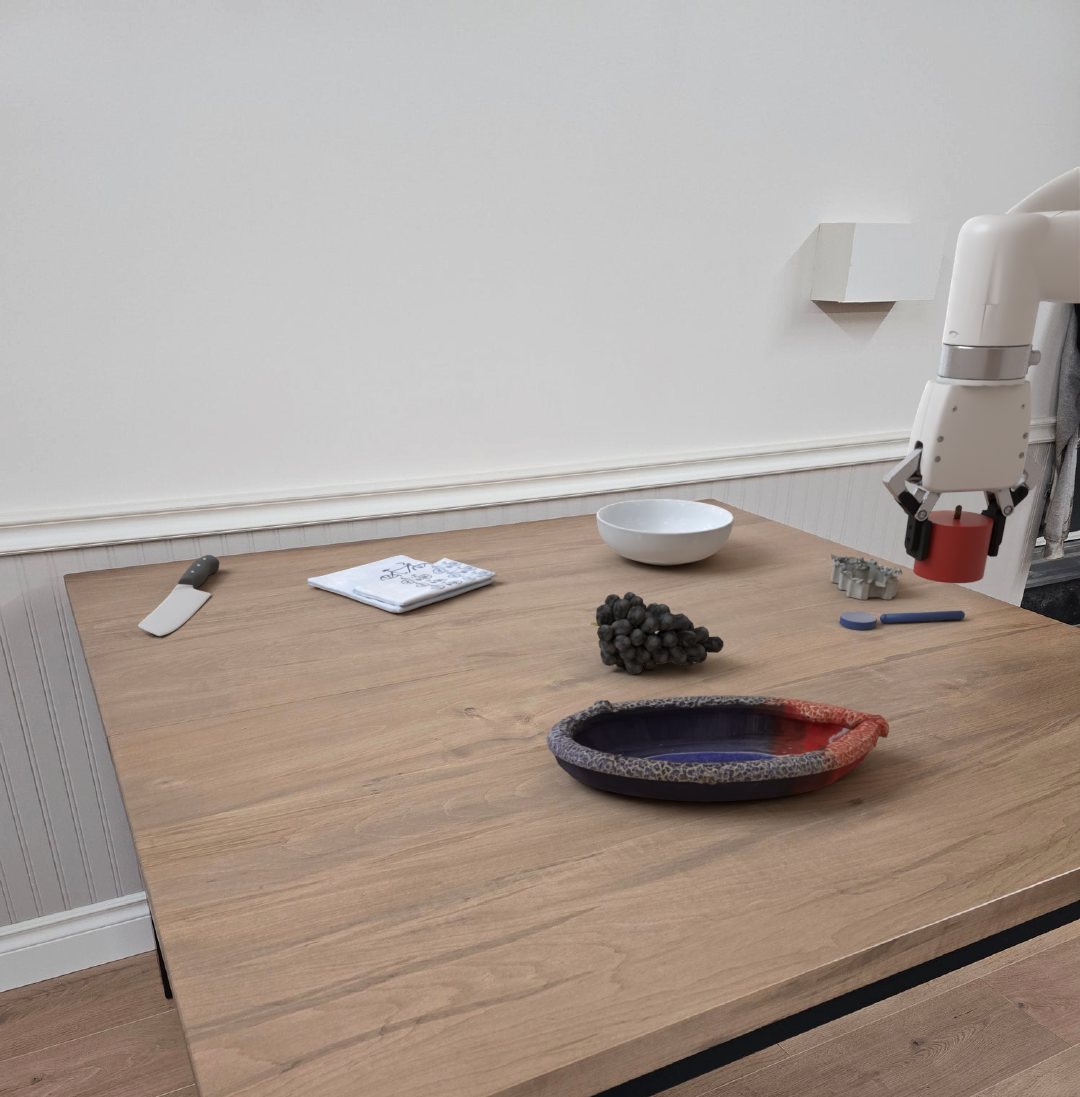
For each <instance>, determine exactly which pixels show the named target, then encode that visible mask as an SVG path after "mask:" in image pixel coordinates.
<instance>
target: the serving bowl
mask: <svg viewBox="0 0 1080 1097" xmlns="http://www.w3.org/2000/svg"><path fill="white" fill-rule="evenodd" d="M595 518H596V525H597V530H598V534H599V535H600V537H601V540H602V541H603V542H604V544H605V545H606V546H607V547H608V548H609V549H610V550H611V551H612V552H614V553H616V554H617V555H619V556H621V557H623V558H626V559H628V560H631V561H635V562H639V563H643V564H645V565H646V564H647V565H650V566H651V565H652V566H662V567H663V566H666V567H669V566H679V565H684V564H689V563H694V562H698V561H701V560H704V559H707V558H709V557H711V556H713V555H715V554H716V553H717V552H719V551H720V550H721V549H722V548H723V547H724V545H725V544H726V543H727V541H728V540H729V538H730V536H731V533H732V530H733V525H734V521H735V517H734V515H733V514H732V512H730V511H729V510H728V509H725V508H723V507H721V506H717V505H714V504H710V503H705V502H700V501H693V500H685V499H671V498H670V499H669V498H654V499H653V498H650V499H634V500H626V501H620V502H615V503H612V504H608V505H605V506H603V507H601V508H600V509H599V510H598V511H597V512H596V516H595Z"/></svg>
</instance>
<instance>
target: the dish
mask: <svg viewBox="0 0 1080 1097" xmlns="http://www.w3.org/2000/svg"><path fill="white" fill-rule="evenodd" d="M889 733H890V725H889V723H888V722H887V721H886V720H885V718H884V717H883V716H882V715H881V714H874V713H867V712H863V711H858V710H854V709H850V708H846V707H843V706H838V705H833V704H828V703H821V702H815V701H808V700H803V699H802V700H801V699H797V698H787V697H779V696H778V697H777V696H765V695H731V694H730V695H729V694H728V695H723V694H722V695H720V694H719V695H687V696H671V697H659V698H647V699H640V700H639V699H638V700H628V701H619V702H611V701H610V700H608V699H598V700H597V701H596V702H594V704H593V705H591V706H590V707H587V708H584V709H582V710H580V711H577V712H574V713H572V714H570V715H568V716H566V717H564V718H562V719H561V720H559V721H558V722H556V723H555V724H554V725H553V726H552V728H550V730H549V731H548V732H547V734H546V735H547V736H546V745H547V747H548V750H549V751H550V752H551V753H552V754H553V756H554V758H555V761H556V762H557V765H558V766H559V767H560V768H561V769H563V771H564V772H566V773H567V774H568V775H569V776H570V777H572V778H573V779H574V780H576V781H578V782H580V783H581V784H585V785H587V786H589V787H591V788H595V789H599V790H603V791H607V792H610V793H614V794H615V793H616V794H620V795H621V794H622V795H624V796H625V795H626V796H632V797H638V798H647V799H656V800H657V799H658V800H666V801H679V802H734V801H735V802H736V801H749V800H761V799H771V798H779V797H785V796H791V795H792V796H793V795H799V794H803V793H804V794H805V793H807V792H812V791H816V790H819V789H822V788H825V787H828V786H830V785H832V784H834V783H835V782H836V781H838V780H839V779H840V778H842V777H843V776H844V775H846V774H848V773H849V772H851V771H852V770H853V769H855V767H857V766H858V765H860V764H861V763H862V762H863V761H864V760H865V758H866V757H867V756H868V754H869V753H870V752H871V750H873V749H874V748H875V747H876V746H877V744H878V740H879V738H884V739H887V738H888V735H889Z"/></svg>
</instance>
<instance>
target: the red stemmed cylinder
mask: <svg viewBox="0 0 1080 1097" xmlns="http://www.w3.org/2000/svg"><path fill="white" fill-rule="evenodd" d="M928 520H930V521H932V531H931V537H930V544H929V550H928V556H927V559H925V561H918V560H916V559H915V558H914V562H913V568H912V571H913V573H914V575H916V576H918V577H919V578H922V579H925V580H928V581H932V582H936V583H937V582H938V583H946V584H969V583H970V584H971V583H976V582H979V581H981V580H982V579H983V578H984V576H985V572H986V571H985V570H986V565H987V559H988V549H989V544H990V538H991V533H992V528H993V522H994V521H993V519H992V518H990V517H988V516H985V515H982V514H981V513H978V512H973V511H966V510H965V511H964V510H963V506H962V505H961V504H957V505H956V506H955V509H954V510H948V509H947V510H932V511H931V512H930V514H929V516H928Z"/></svg>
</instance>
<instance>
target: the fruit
mask: <svg viewBox="0 0 1080 1097" xmlns="http://www.w3.org/2000/svg"><path fill="white" fill-rule="evenodd" d="M595 619H596V621H595V622H593V621H592V622H590V625H592V626H596V627H598V628H597V631H596V634H597V637H598V639H599V640H598V647H599V650H600V652H599V653H600V659H601V662H602V664H604V665H605V666H608V667H611V666H614V665H615V666H623V665H624V666H625V669H626V671H627V672H628V673H629V674H630V675H638V674H640V673H641V672H642V670H643V668H644V669H647V670H652V669H654V668H655V667H656V666H657V664H658V665H662V664H666V663H667V662H669V663H673V664H675V665H680V666H681V667H682V668H684V669H689V668H691V667H693V666H694V664H702V663H704V662H705V661H706V659H707V657H708V653H709V654H710V653H712V654H714V653H715V654H718V653H720V652H721V651H722V650H723V648H724V644H725V643H724V640H723V639H722V638H721V637H720V636H718V635H717V636H716V635H715V636H710V632H709V629H708V628H706V626H701V625H700V626H697V627H695V625H694V622H692V620H690V618H689V617H688V616H687V615H685V614H684V613H683V612H682V613H677V614H674V613H671V609H670V606H669V605H667V604H665V603H656V602H653V603H649V604H648V605H647V604H645V602H644V598H642V597H641V596H639V595H636V593H634V592H632V591H628V592H626V593H625V594H624V595H623V598H621V597H620V596H619V595H618V594H615V593H611V594H609V595H607V596H606V598H605V599H604V604H603V603H602V604H600V605H599V606H598V607H596V614H595Z"/></svg>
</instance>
